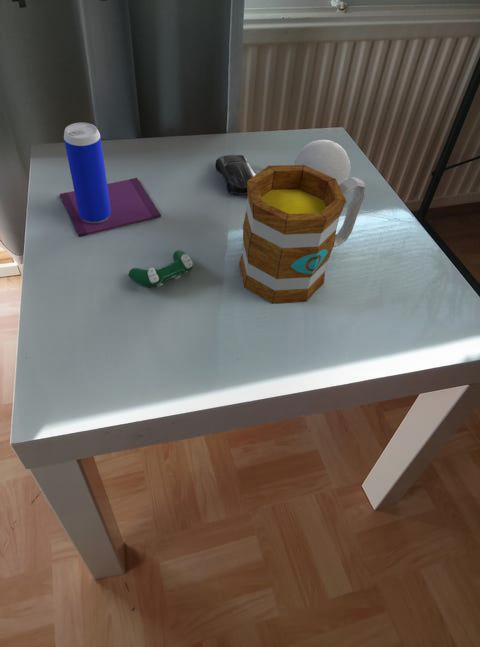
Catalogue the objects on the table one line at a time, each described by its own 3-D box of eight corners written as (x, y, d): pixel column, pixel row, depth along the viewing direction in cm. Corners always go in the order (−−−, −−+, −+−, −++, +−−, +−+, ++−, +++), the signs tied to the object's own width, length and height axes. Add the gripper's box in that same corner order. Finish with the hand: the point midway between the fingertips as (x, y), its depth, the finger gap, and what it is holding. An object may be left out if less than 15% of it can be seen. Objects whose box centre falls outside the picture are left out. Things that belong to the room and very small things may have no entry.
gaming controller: (135, 294, 76) (147, 292, 70) (125, 271, 75) (136, 266, 70) (187, 272, 80) (203, 268, 74) (178, 249, 79) (193, 244, 74)
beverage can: (101, 202, 86) (88, 118, 75) (117, 218, 84) (106, 133, 73) (73, 212, 84) (56, 127, 73) (89, 228, 81) (73, 142, 70)
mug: (268, 317, 72) (282, 234, 61) (221, 260, 79) (226, 176, 68) (372, 274, 80) (401, 194, 68) (321, 226, 87) (340, 146, 76)
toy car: (241, 162, 99) (242, 143, 96) (262, 197, 91) (265, 178, 88) (213, 165, 97) (213, 147, 94) (232, 201, 90) (233, 182, 87)
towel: (78, 236, 81) (78, 234, 80) (59, 195, 87) (59, 193, 87) (161, 216, 85) (161, 214, 85) (137, 179, 92) (136, 177, 92)
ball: (285, 203, 91) (293, 152, 83) (294, 174, 97) (302, 124, 90) (340, 214, 89) (353, 164, 82) (345, 184, 96) (358, 135, 88)
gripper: (95, -218, 46) (116, -14, 58) (-76, -230, 41) (-15, -4, 54) (122, -210, 42) (138, 8, 54) (-65, -223, 37) (-2, 20, 49)
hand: (62, 2), depth 54 cm, fingers open, 8 cm apart
